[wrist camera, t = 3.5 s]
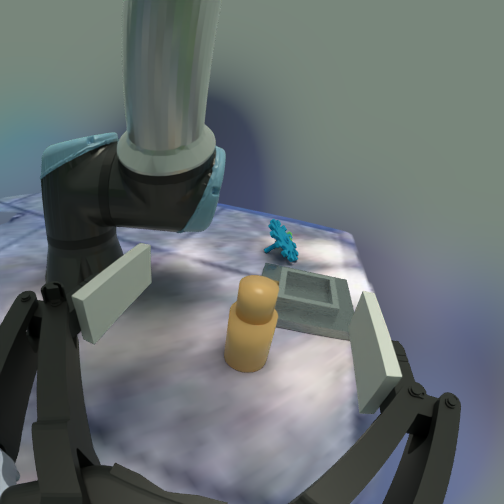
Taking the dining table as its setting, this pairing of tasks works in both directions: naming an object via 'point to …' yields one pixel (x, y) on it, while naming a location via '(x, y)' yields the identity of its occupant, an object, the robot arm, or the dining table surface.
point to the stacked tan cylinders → (251, 324)
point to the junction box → (311, 302)
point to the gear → (282, 241)
